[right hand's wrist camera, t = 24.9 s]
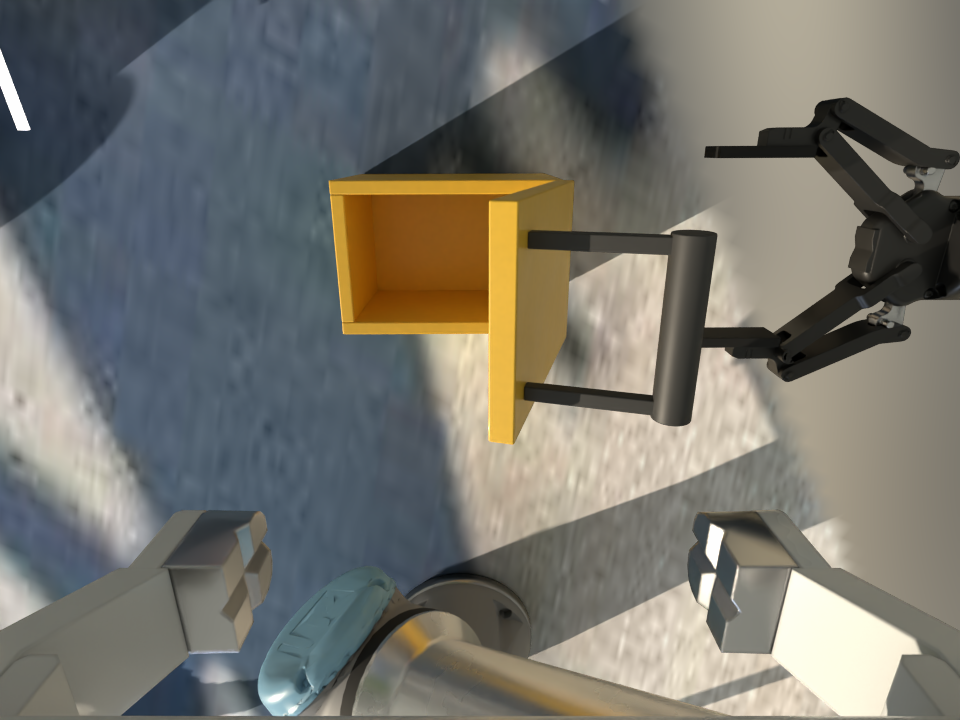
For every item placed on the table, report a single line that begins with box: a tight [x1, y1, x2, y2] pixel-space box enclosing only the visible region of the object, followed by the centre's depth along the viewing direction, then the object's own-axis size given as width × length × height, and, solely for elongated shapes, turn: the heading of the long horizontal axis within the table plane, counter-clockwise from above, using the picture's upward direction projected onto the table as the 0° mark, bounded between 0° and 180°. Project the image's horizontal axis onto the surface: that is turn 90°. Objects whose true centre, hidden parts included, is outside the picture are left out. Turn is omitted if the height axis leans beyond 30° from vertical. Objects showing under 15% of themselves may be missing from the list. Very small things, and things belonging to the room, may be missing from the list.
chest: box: [329, 173, 562, 334], centre depth 43 cm, size 15×10×11 cm
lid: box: [489, 180, 717, 444], centre depth 29 cm, size 16×10×8 cm
